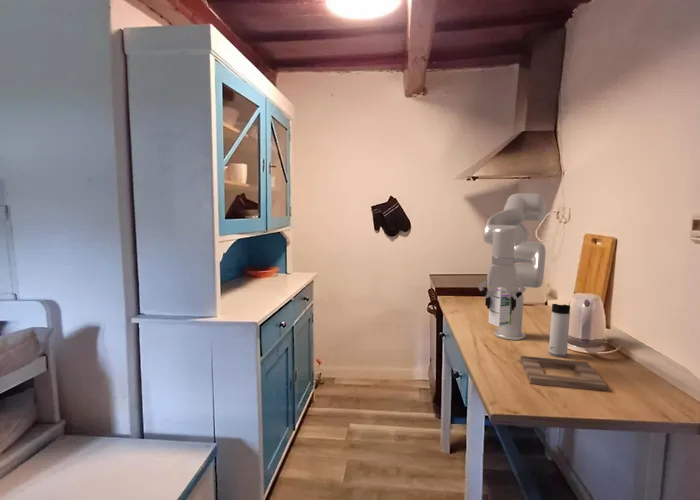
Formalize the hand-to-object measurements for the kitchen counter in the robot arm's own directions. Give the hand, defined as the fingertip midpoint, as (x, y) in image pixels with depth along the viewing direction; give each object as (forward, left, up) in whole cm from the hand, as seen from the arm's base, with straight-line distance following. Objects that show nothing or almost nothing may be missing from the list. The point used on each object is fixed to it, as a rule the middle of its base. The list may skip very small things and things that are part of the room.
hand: (500, 308), depth 161 cm
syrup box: (0, 0, -6) cm, 6 cm away
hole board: (+12, +19, -19) cm, 29 cm away
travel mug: (-9, +23, -19) cm, 31 cm away
